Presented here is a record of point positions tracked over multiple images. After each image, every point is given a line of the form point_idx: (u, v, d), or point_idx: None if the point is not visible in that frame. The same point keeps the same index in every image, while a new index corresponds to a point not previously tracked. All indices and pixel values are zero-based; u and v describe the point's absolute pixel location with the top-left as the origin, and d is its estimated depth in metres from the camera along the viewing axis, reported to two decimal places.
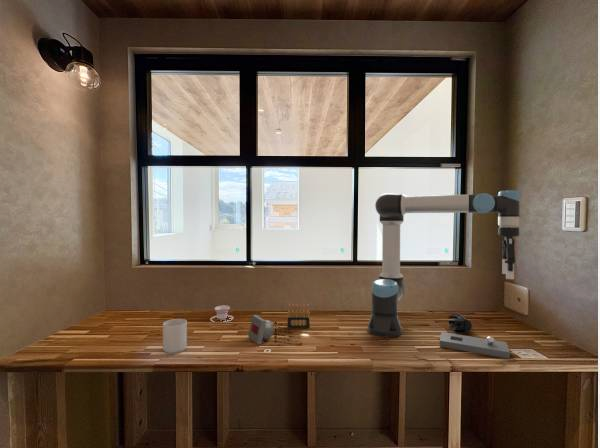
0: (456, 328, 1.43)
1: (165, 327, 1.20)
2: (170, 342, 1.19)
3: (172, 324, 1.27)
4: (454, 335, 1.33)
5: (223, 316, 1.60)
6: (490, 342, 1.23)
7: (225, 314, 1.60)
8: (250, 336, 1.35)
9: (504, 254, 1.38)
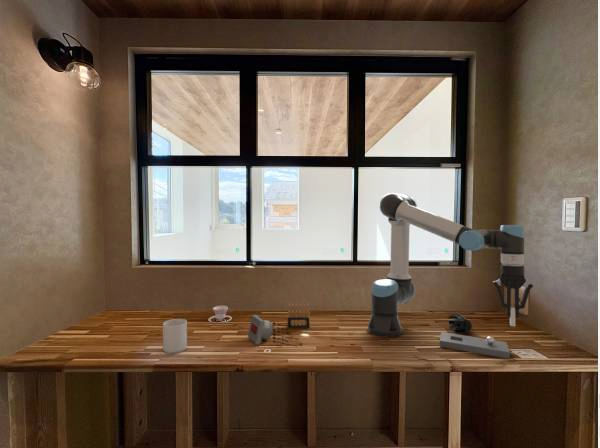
0: (456, 328, 1.43)
1: (165, 327, 1.20)
2: (170, 342, 1.19)
3: (172, 324, 1.27)
4: (454, 335, 1.33)
5: (221, 316, 1.59)
6: (490, 342, 1.23)
7: (223, 314, 1.60)
8: (249, 336, 1.35)
9: (514, 299, 1.21)
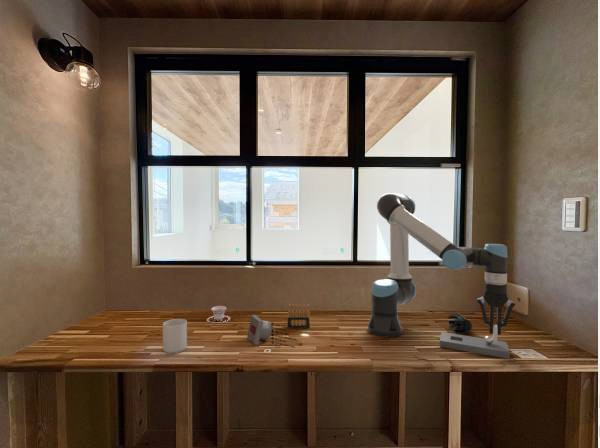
0: (456, 328, 1.43)
1: (165, 327, 1.20)
2: (170, 342, 1.19)
3: (172, 324, 1.27)
4: (454, 335, 1.33)
5: (220, 317, 1.59)
6: (489, 342, 1.23)
7: (222, 314, 1.59)
8: (249, 336, 1.35)
9: None
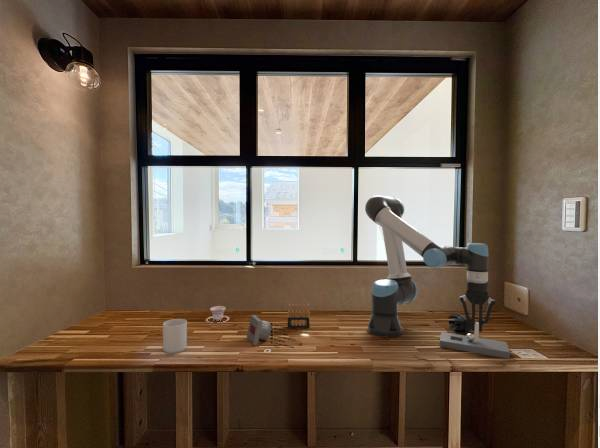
0: (456, 328, 1.43)
1: (165, 327, 1.19)
2: (170, 342, 1.19)
3: (172, 324, 1.27)
4: (454, 335, 1.33)
5: (219, 317, 1.58)
6: (469, 337, 1.26)
7: (221, 315, 1.59)
8: (248, 336, 1.35)
9: None
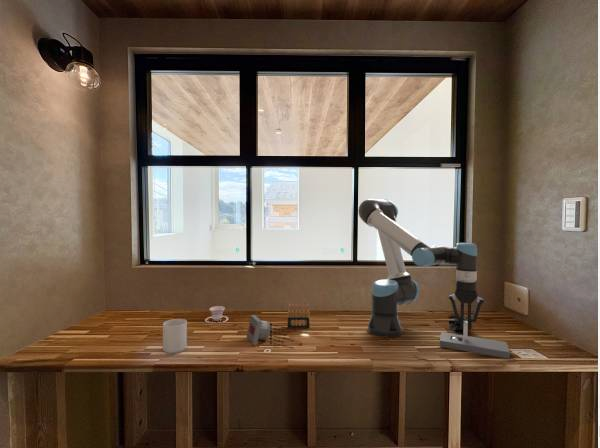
0: (456, 328, 1.43)
1: (165, 327, 1.20)
2: (170, 342, 1.19)
3: (172, 324, 1.27)
4: (454, 335, 1.33)
5: (218, 317, 1.58)
6: None
7: (220, 315, 1.59)
8: (248, 336, 1.35)
9: None
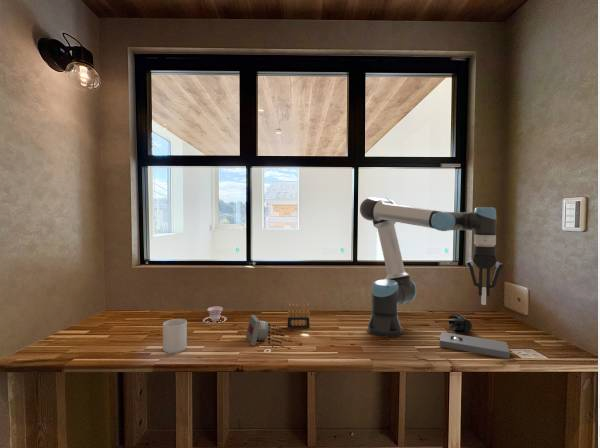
0: (456, 328, 1.43)
1: (165, 327, 1.20)
2: (170, 342, 1.19)
3: (172, 324, 1.27)
4: (454, 335, 1.33)
5: (216, 317, 1.58)
6: None
7: (218, 315, 1.58)
8: (247, 336, 1.35)
9: None
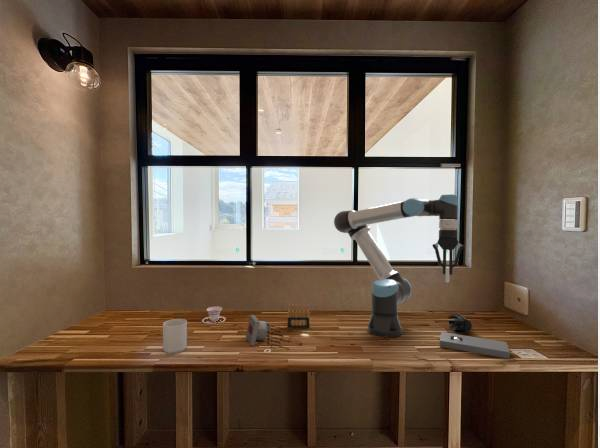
0: (456, 328, 1.43)
1: (165, 327, 1.20)
2: (170, 342, 1.19)
3: (172, 324, 1.27)
4: (454, 335, 1.33)
5: (215, 317, 1.58)
6: None
7: (217, 315, 1.58)
8: (247, 336, 1.35)
9: None
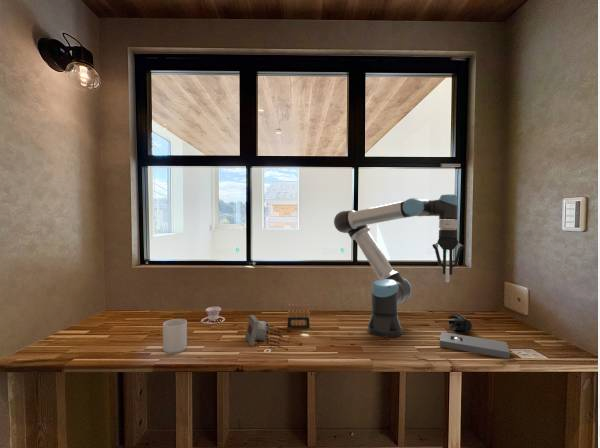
0: (456, 328, 1.43)
1: (165, 327, 1.20)
2: (170, 342, 1.19)
3: (172, 324, 1.27)
4: (454, 335, 1.33)
5: (214, 317, 1.57)
6: None
7: (216, 315, 1.58)
8: (246, 336, 1.35)
9: None
